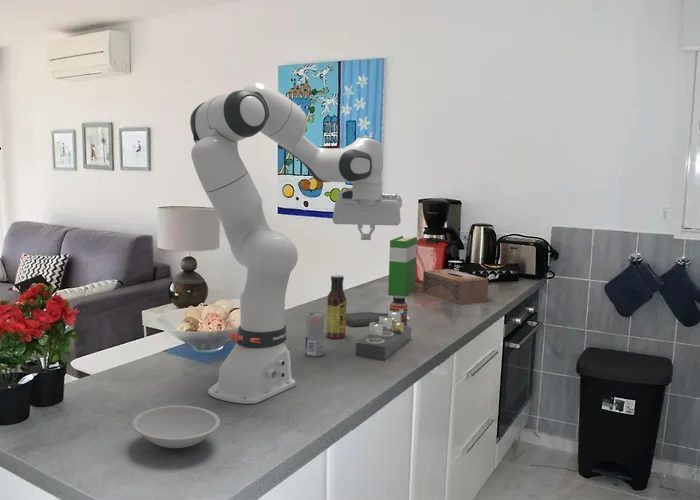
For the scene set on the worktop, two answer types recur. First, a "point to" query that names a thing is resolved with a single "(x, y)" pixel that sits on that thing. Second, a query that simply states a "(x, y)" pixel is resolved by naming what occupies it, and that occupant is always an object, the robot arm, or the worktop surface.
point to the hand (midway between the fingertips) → (365, 239)
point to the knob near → (375, 331)
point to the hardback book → (402, 266)
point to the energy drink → (314, 334)
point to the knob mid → (386, 324)
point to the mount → (382, 345)
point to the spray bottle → (363, 318)
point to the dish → (176, 425)
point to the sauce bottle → (336, 309)
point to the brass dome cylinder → (398, 327)
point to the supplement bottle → (400, 307)
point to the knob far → (394, 316)
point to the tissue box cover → (455, 286)
